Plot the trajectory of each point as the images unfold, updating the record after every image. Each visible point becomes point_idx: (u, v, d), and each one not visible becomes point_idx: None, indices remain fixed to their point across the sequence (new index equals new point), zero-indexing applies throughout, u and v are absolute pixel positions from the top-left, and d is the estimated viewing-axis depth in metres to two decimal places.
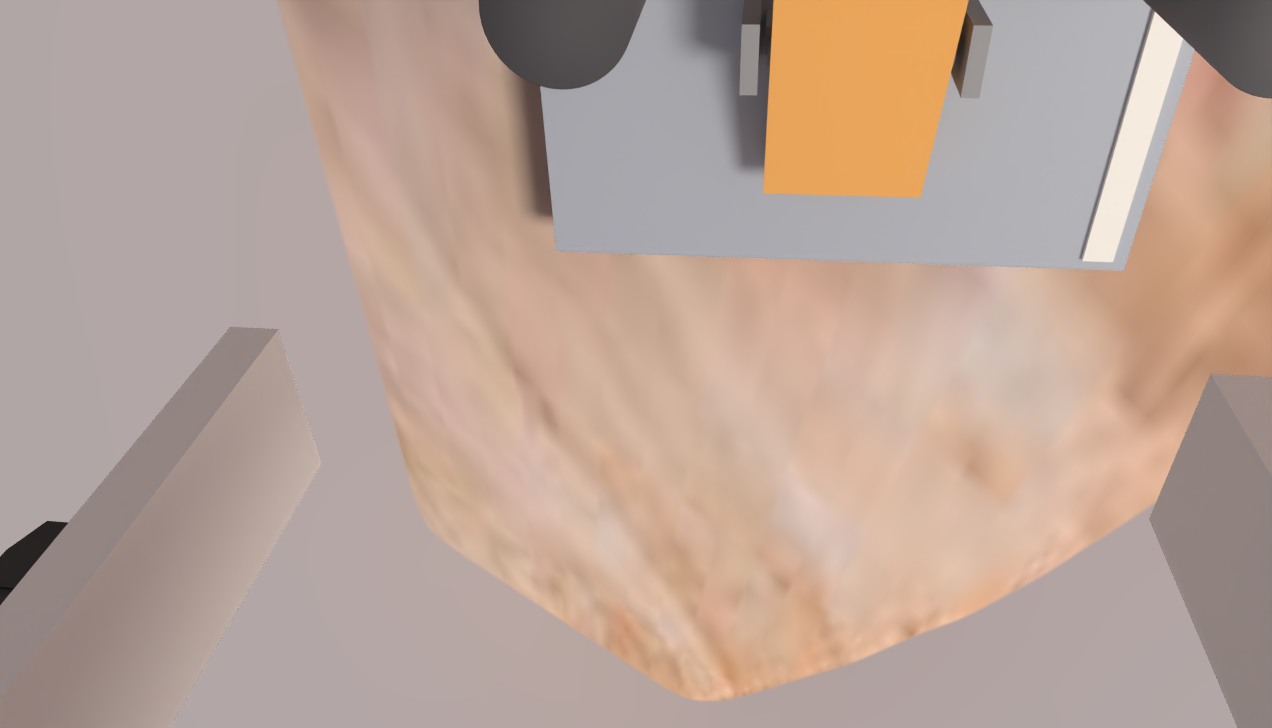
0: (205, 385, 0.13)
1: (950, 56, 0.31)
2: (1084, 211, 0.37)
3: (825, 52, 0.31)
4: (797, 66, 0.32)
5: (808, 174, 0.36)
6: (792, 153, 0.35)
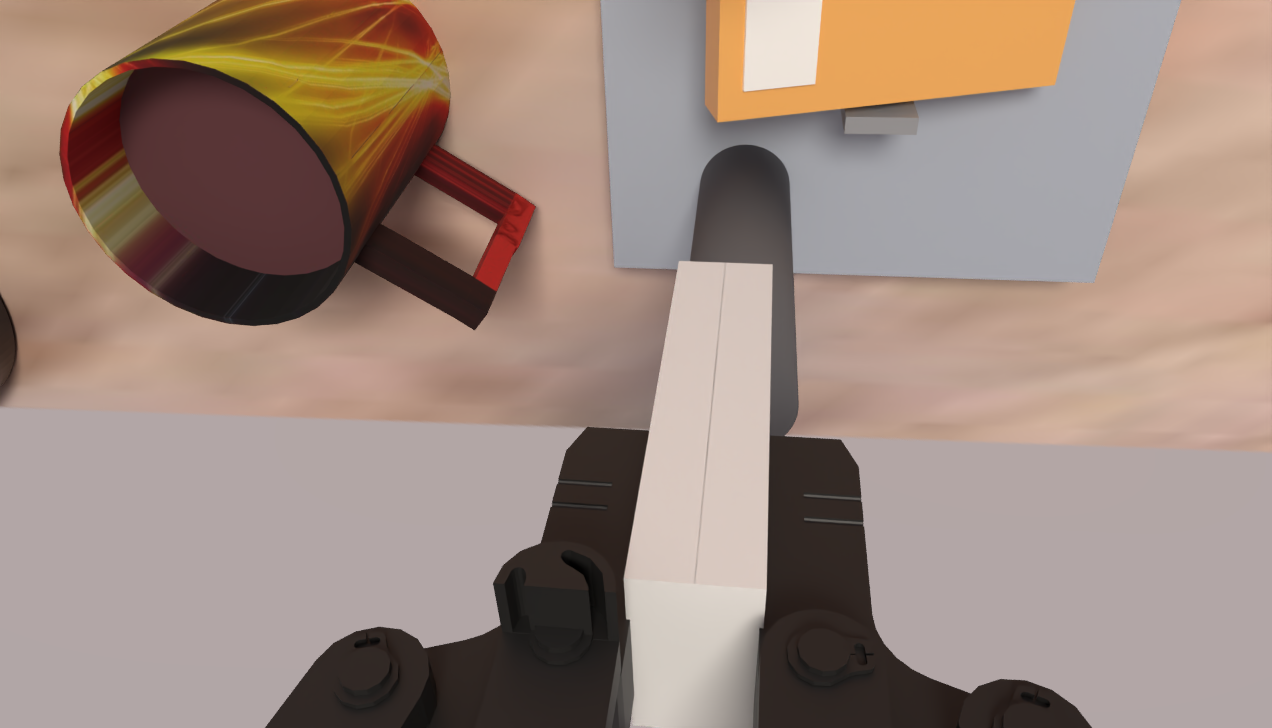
0: (692, 309, 0.14)
1: None
2: None
3: (882, 50, 0.30)
4: (895, 76, 0.31)
5: (1037, 38, 0.31)
6: (1003, 62, 0.31)
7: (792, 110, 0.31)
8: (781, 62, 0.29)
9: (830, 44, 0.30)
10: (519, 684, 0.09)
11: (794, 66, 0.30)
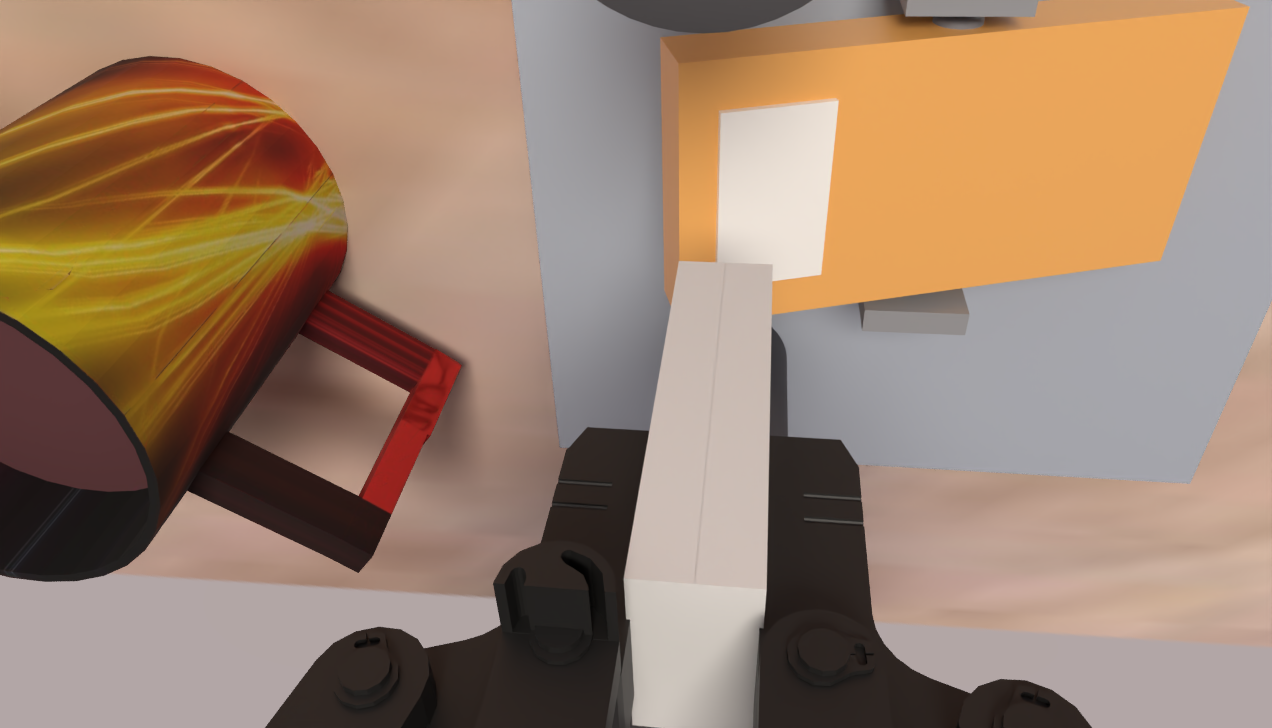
0: (692, 309, 0.14)
1: (955, 44, 0.18)
2: None
3: (918, 227, 0.21)
4: (936, 258, 0.21)
5: (1141, 203, 0.22)
6: (1091, 235, 0.22)
7: (788, 307, 0.21)
8: (771, 248, 0.20)
9: (843, 221, 0.20)
10: (519, 684, 0.09)
11: (790, 253, 0.20)
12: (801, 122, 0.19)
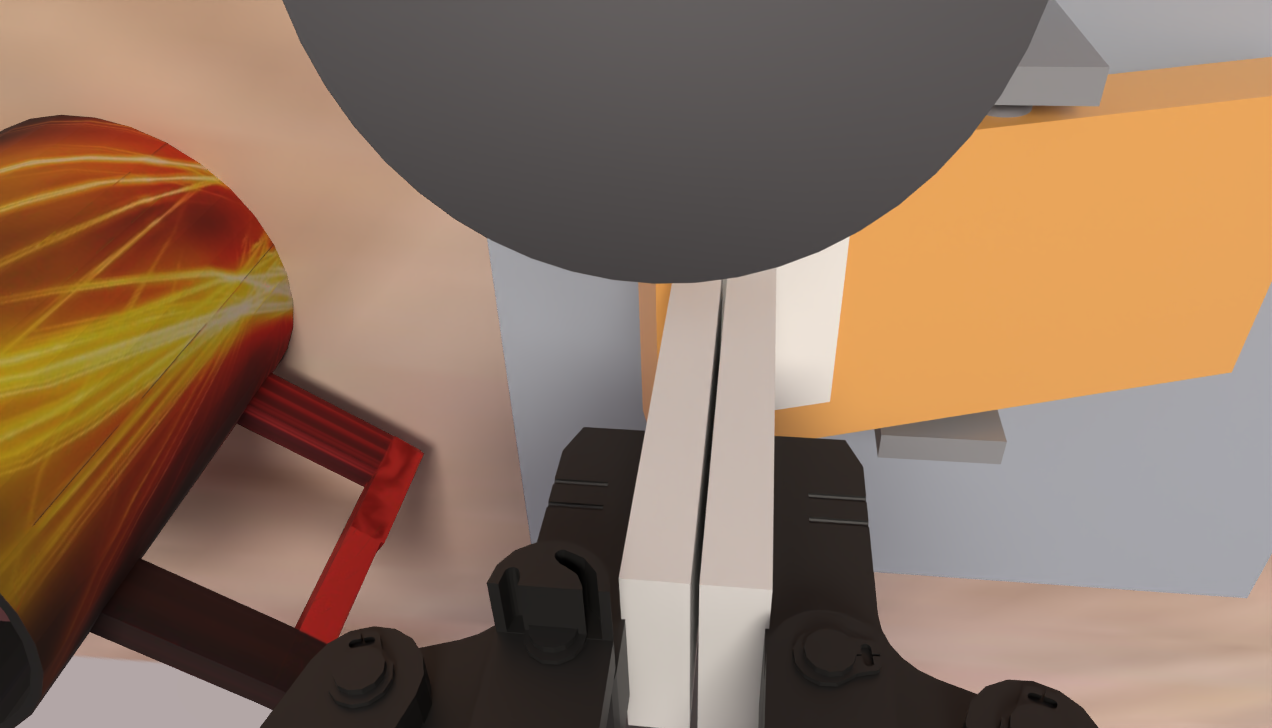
0: (689, 309, 0.14)
1: (998, 136, 0.15)
2: None
3: (947, 344, 0.17)
4: (967, 378, 0.18)
5: (1212, 311, 0.18)
6: (1152, 347, 0.18)
7: None
8: None
9: (857, 341, 0.17)
10: (513, 684, 0.09)
11: (793, 380, 0.17)
12: None
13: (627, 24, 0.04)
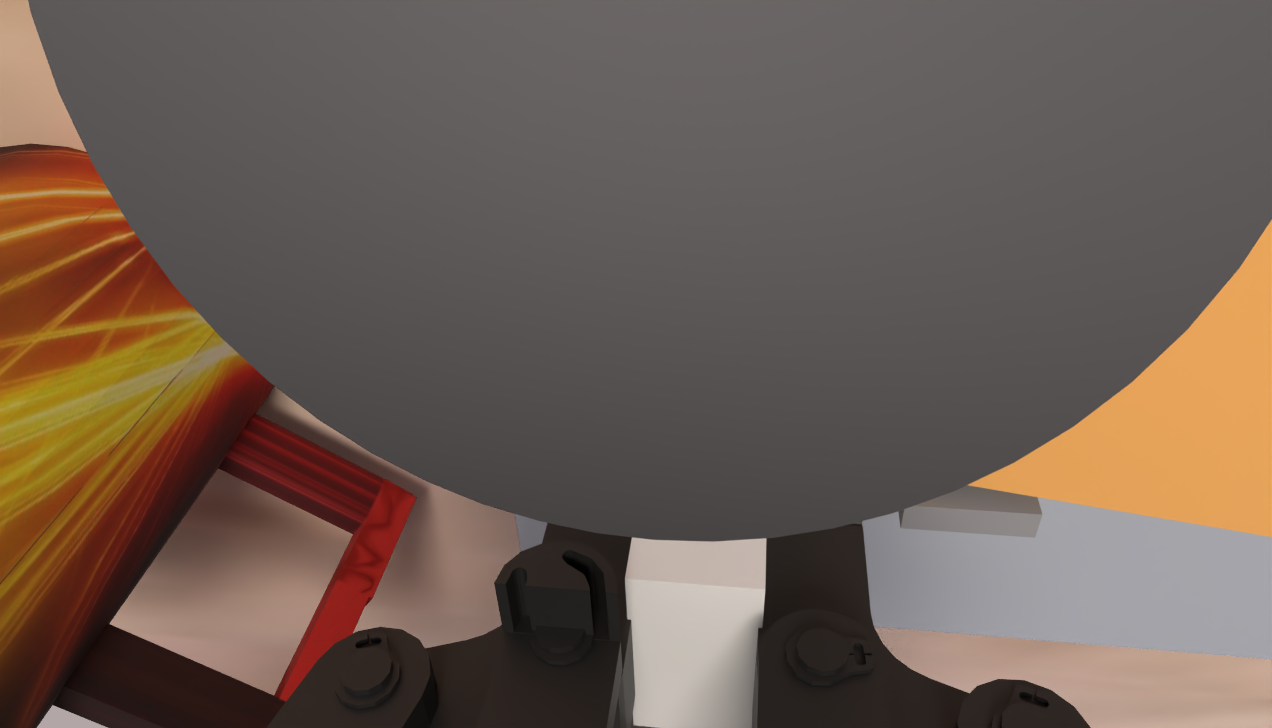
0: None
1: None
2: None
3: None
4: None
5: None
6: (1227, 483, 0.15)
7: None
8: None
9: None
10: (521, 685, 0.09)
11: None
12: None
13: (616, 221, 0.03)
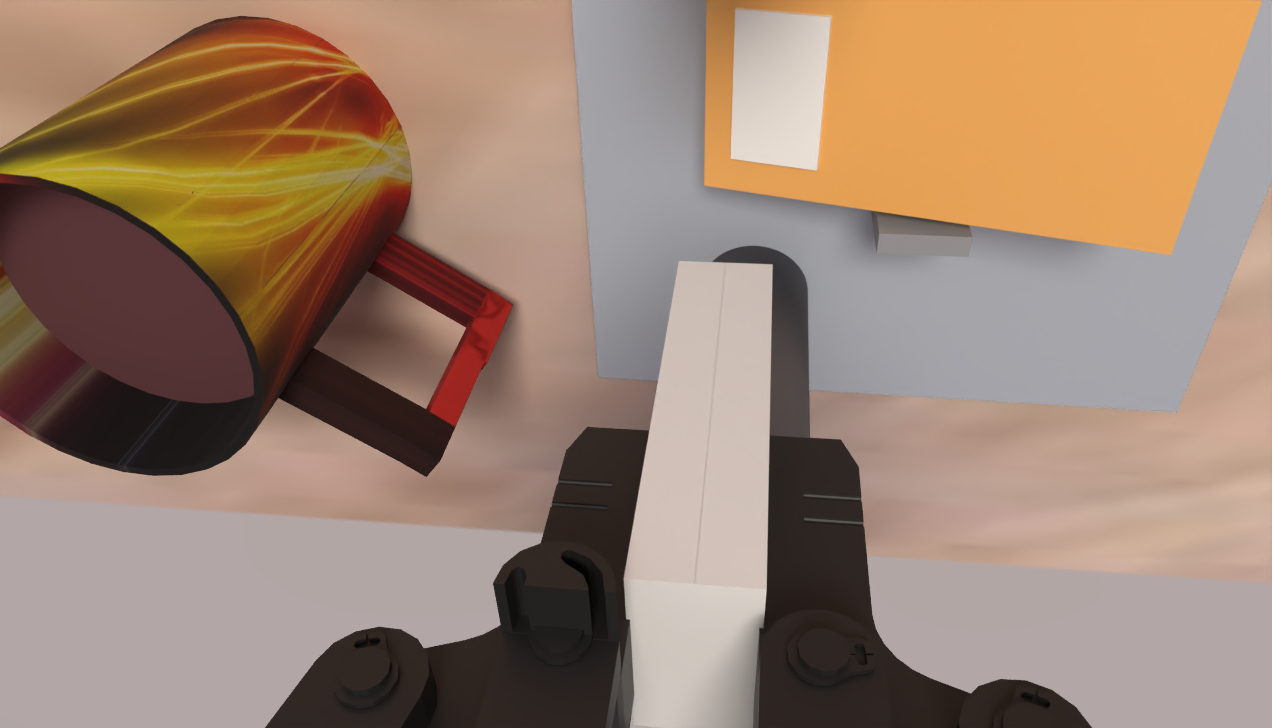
0: (692, 309, 0.14)
1: None
2: None
3: (907, 150, 0.24)
4: (925, 185, 0.24)
5: (1143, 186, 0.22)
6: (1087, 205, 0.23)
7: (791, 194, 0.26)
8: (775, 135, 0.25)
9: (839, 128, 0.24)
10: (519, 684, 0.09)
11: (790, 144, 0.25)
12: (799, 30, 0.23)
13: None
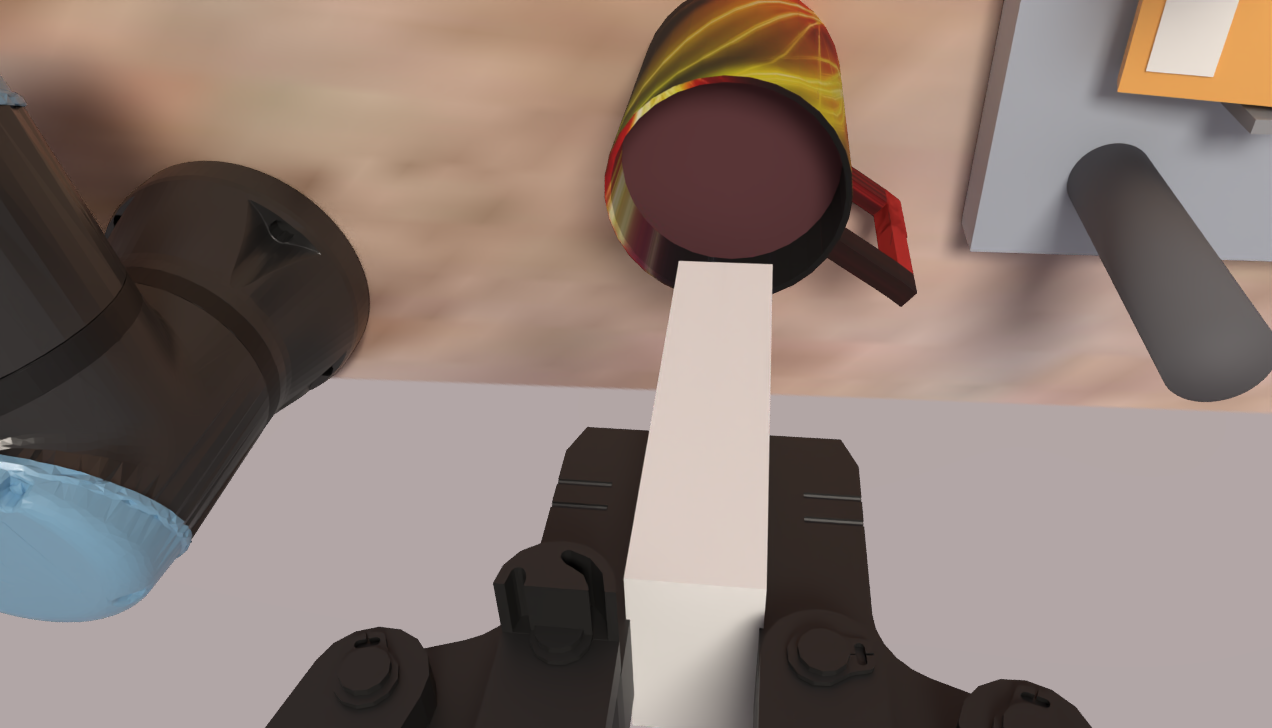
0: (692, 309, 0.14)
1: None
2: None
3: None
4: None
5: None
6: None
7: (1187, 95, 0.38)
8: (1186, 53, 0.37)
9: (1236, 46, 0.36)
10: (519, 684, 0.09)
11: (1197, 58, 0.37)
12: None
13: None
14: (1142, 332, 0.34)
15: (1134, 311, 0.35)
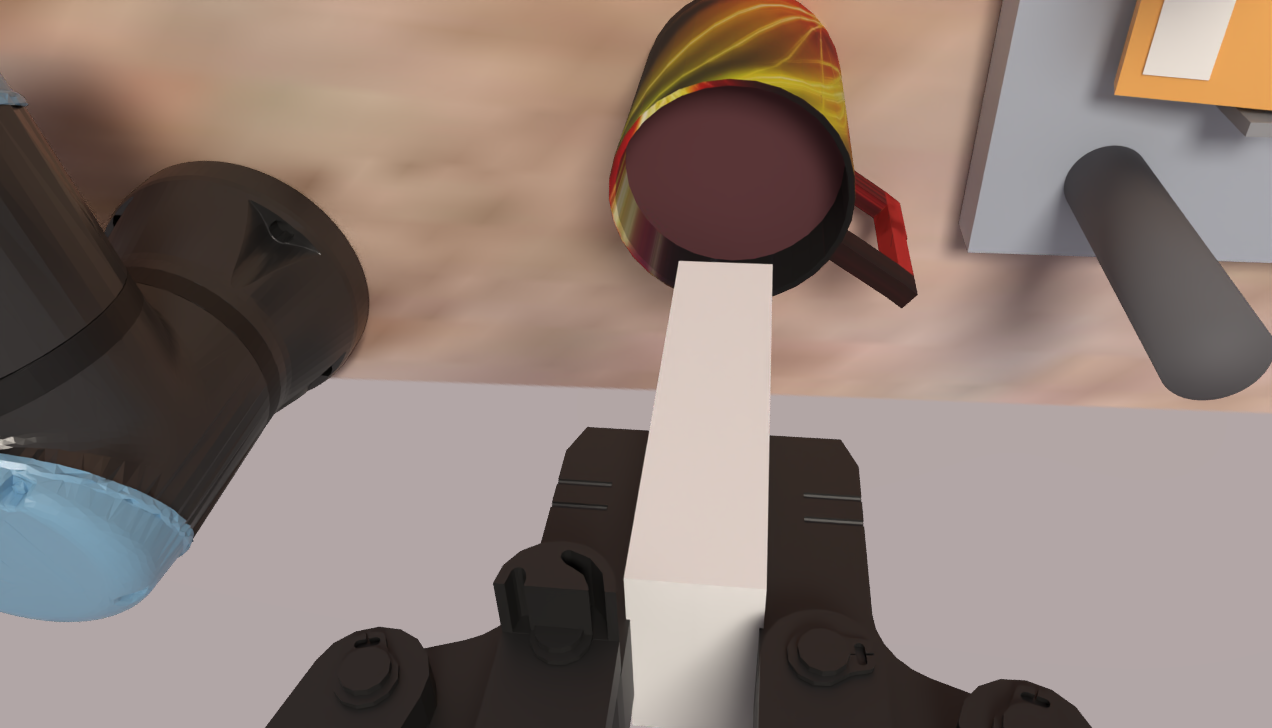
0: (692, 309, 0.14)
1: None
2: None
3: None
4: None
5: None
6: None
7: (1183, 98, 0.38)
8: (1182, 56, 0.37)
9: (1231, 50, 0.36)
10: (519, 684, 0.09)
11: (1193, 62, 0.37)
12: None
13: None
14: (1139, 331, 0.35)
15: (1131, 311, 0.35)
